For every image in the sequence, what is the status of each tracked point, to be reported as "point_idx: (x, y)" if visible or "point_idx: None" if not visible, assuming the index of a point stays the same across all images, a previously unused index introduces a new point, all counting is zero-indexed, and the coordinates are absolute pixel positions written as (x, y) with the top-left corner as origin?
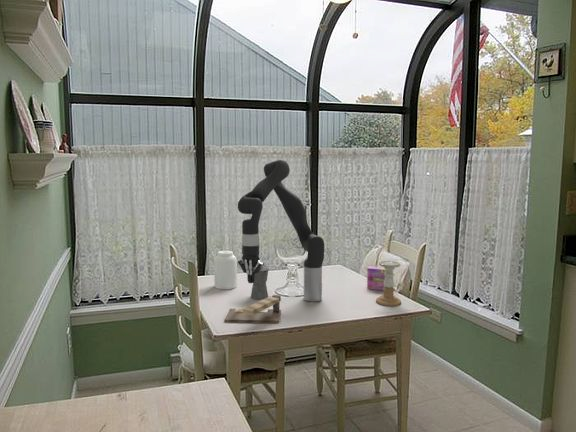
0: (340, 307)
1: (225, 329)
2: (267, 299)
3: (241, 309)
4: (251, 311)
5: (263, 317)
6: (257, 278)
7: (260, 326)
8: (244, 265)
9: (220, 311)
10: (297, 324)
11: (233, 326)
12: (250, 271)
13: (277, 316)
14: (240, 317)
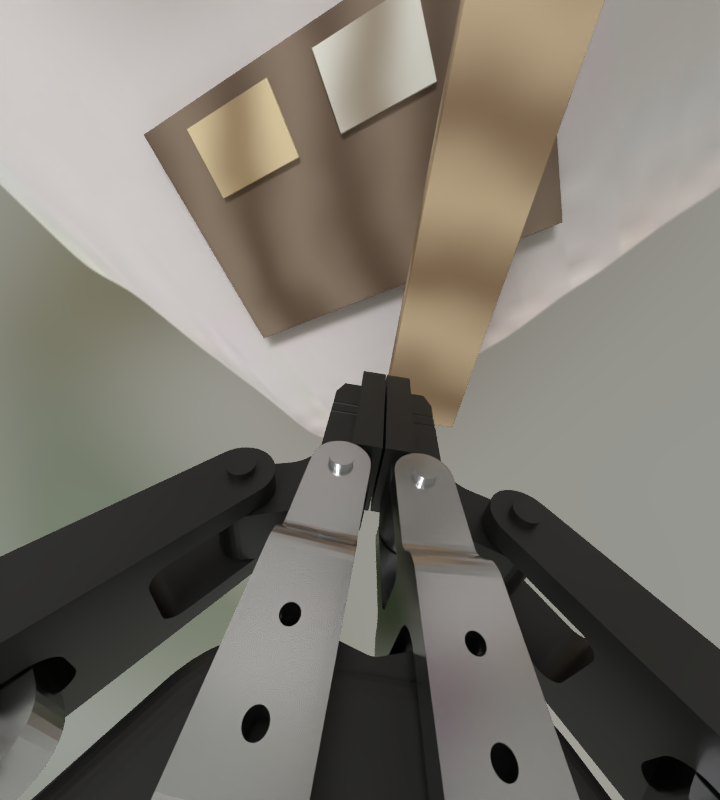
0: None
1: (327, 402)
2: (483, 121)
3: (228, 124)
4: (445, 423)
5: None
6: None
7: None
8: (116, 620)
9: (117, 179)
10: (691, 182)
11: (337, 363)
12: (393, 585)
13: None
14: (314, 276)
